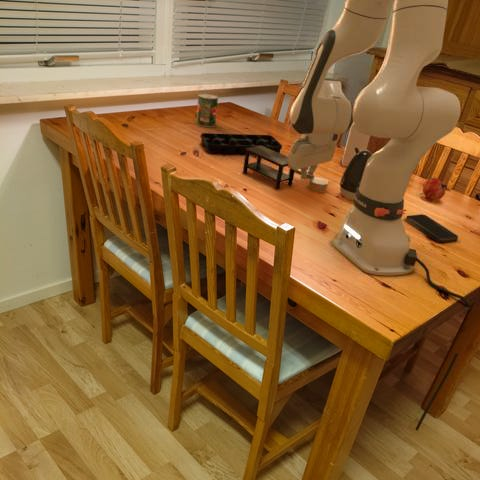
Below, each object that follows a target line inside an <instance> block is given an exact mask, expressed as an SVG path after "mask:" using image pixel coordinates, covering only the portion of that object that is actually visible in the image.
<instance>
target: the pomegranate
mask: <svg viewBox="0 0 480 480" xmlns="http://www.w3.org/2000/svg"><path fill="white" fill-rule="evenodd" d="M446 188H448V185H447V184H445V182H444V181H442V180H441V179H439V178H437V177H431V178H428V179H426V180H425V181H424V183H423V184H422V193H421V195H424V198H425V199H426V201H429V202H434V201H439V200H441V199H442V198H444V197H445V194H446Z"/></svg>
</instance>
